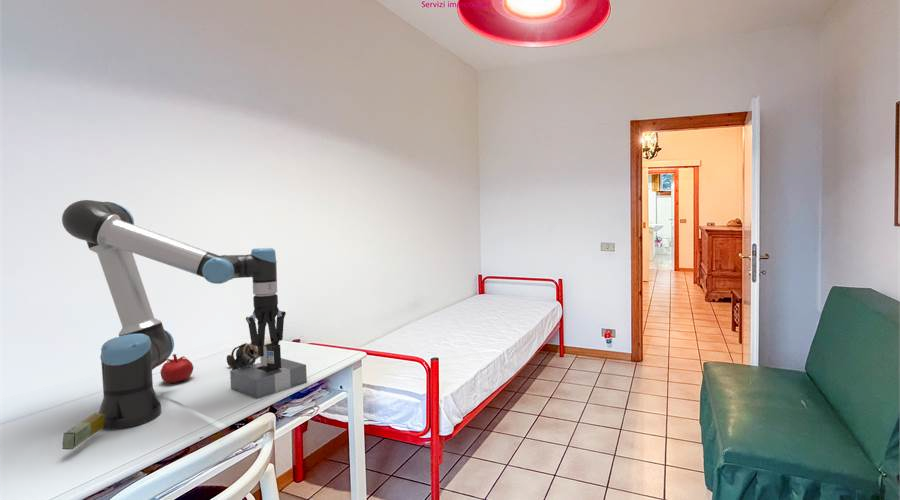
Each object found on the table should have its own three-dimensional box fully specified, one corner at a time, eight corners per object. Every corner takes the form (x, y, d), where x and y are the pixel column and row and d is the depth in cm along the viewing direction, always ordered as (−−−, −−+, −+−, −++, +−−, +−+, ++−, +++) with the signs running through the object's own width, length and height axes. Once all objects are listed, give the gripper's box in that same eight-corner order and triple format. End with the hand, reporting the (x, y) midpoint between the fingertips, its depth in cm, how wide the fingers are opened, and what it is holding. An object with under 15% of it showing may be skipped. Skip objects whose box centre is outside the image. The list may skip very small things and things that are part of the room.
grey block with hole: (257, 398, 140) (256, 379, 139) (231, 388, 149) (230, 370, 149) (306, 382, 154) (306, 364, 154) (280, 373, 164) (279, 357, 163)
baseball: (251, 354, 191) (250, 338, 191) (267, 350, 197) (266, 335, 196) (259, 357, 187) (258, 341, 186) (275, 353, 192) (274, 337, 192)
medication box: (73, 449, 109) (74, 433, 109) (61, 449, 109) (61, 433, 109) (104, 427, 121) (105, 412, 121) (93, 427, 121) (94, 412, 121)
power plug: (235, 374, 163) (249, 347, 160) (249, 386, 161) (263, 360, 158) (223, 378, 158) (236, 351, 155) (237, 392, 156) (251, 364, 153)
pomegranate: (199, 377, 162) (198, 351, 162) (171, 386, 153) (170, 359, 153) (182, 373, 167) (181, 348, 166) (154, 382, 158) (153, 355, 157)
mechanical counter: (253, 372, 167) (252, 345, 166) (219, 372, 167) (217, 346, 166) (261, 365, 174) (260, 340, 173) (229, 366, 174) (227, 341, 174)
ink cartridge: (265, 368, 150) (263, 344, 150) (270, 366, 152) (269, 342, 152) (275, 369, 148) (274, 345, 148) (281, 367, 150) (280, 344, 150)
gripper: (249, 298, 142) (252, 372, 143) (292, 292, 154) (295, 360, 155) (236, 296, 146) (240, 368, 147) (280, 290, 159) (282, 356, 160)
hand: (268, 364), depth 151 cm, fingers closed on ink cartridge, 2 cm apart
